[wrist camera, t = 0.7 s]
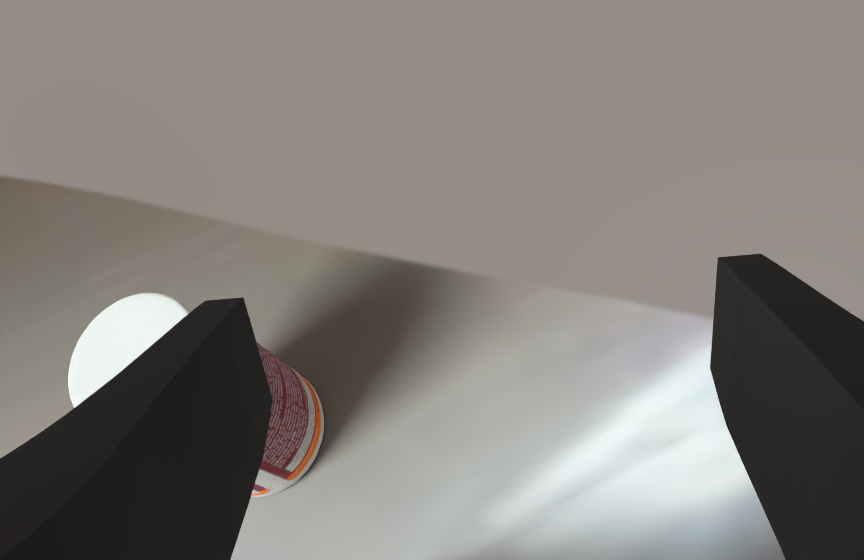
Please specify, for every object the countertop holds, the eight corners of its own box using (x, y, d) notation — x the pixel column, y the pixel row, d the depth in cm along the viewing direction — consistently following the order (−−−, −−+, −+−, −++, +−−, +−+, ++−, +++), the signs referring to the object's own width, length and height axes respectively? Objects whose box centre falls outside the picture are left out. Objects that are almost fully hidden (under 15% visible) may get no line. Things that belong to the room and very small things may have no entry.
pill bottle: (295, 345, 31) (176, 247, 23) (349, 452, 28) (236, 382, 21) (187, 413, 31) (35, 337, 23) (233, 526, 28) (79, 481, 21)
